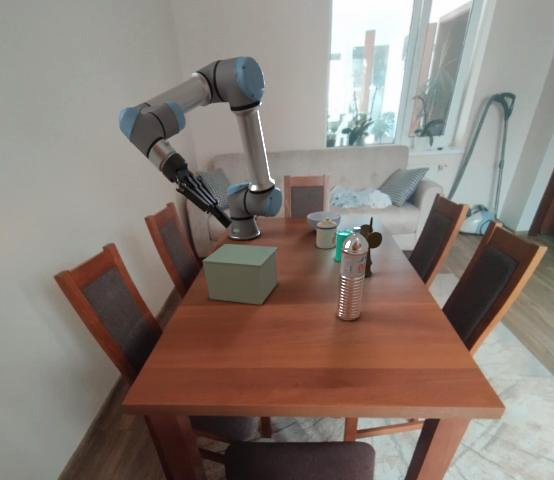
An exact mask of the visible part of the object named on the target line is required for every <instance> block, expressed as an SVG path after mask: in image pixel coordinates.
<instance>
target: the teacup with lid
mask: <svg viewBox="0 0 554 480" xmlns="http://www.w3.org/2000/svg"><path fill="white" fill-rule="evenodd" d="M316 227H317V231H316V239H315V241H316V242H315V243H316V244H315V245H316V247H317V248H319V249H325V250H327V249H333V248H336V241H337V232H338V226H337V223H335V222H332V221H331V220H329V218H325V220H323V221H322V222H319V223H318V224H317V225H316Z"/></svg>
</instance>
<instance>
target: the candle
mask: <svg viewBox="0 0 554 480" xmlns="http://www.w3.org/2000/svg"><path fill="white" fill-rule="evenodd" d="M352 234H353V230H346V229H345V230H337V231H336V245H335V255H334V256H335V258H334V259H335V261H337V262H339V263H341V256H342V250H341V249H342V244H343V242H344V241H345V240H346V238H348V237H349V236H350V235H352Z"/></svg>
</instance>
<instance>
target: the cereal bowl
mask: <svg viewBox="0 0 554 480" xmlns="http://www.w3.org/2000/svg"><path fill="white" fill-rule="evenodd" d="M325 218H329V220H331V221H332V222H335V223H337V227H339V225H340V224H341V220H342V215H341V213H340V212H337V211H329V210H328V211H327V210H325V211H324V210H323V211H315V212H311V213H309V214H307V216H306V223H307V225H308V227H309V228H310V229H311V230H314V231H315V232H317V227H316V225H317V224H318V223H319V222H322V221H323V220H325Z"/></svg>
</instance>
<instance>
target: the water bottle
mask: <svg viewBox="0 0 554 480" xmlns="http://www.w3.org/2000/svg"><path fill="white" fill-rule="evenodd" d="M360 230H361V228H360V226H354V227H352V235H350V236H349V237H348V238H346V240H345V241H344V242H343V244H342V249H341V250H342V256H341V262H340V269H339V270H340V271H339V277H338V289H337V301H336V316H337V317H338V319H340V320H343V321H348V322H349V321H354V320H357V319H358V318H359V317H360V315H361V309H362V300H363V292H364V286H365V285H364V284H365V267H366V259H367V252H368V247H369V245H368V243H367V241H366V239H365V238H364V237H363V236H362V235H361V234H360Z"/></svg>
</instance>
